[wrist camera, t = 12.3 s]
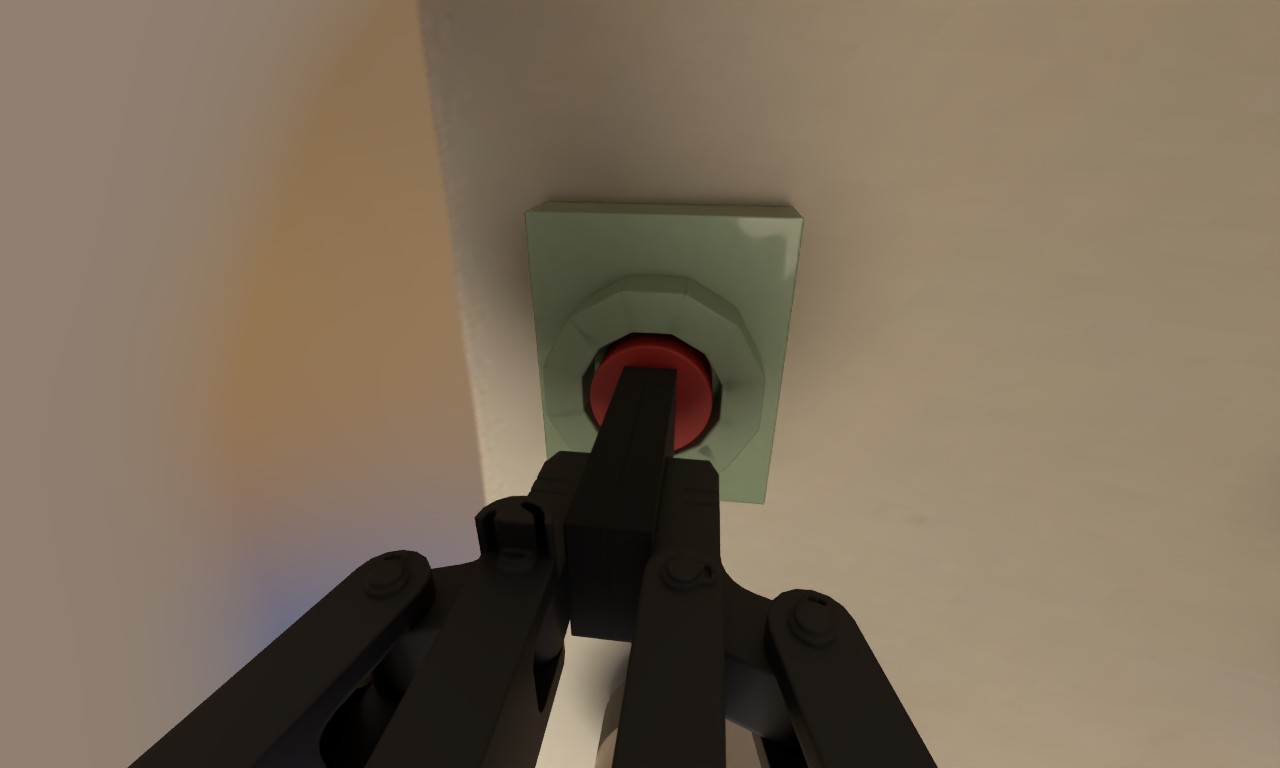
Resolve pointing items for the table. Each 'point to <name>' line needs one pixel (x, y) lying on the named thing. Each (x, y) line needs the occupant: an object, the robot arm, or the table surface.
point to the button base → (668, 315)
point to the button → (659, 354)
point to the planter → (738, 739)
